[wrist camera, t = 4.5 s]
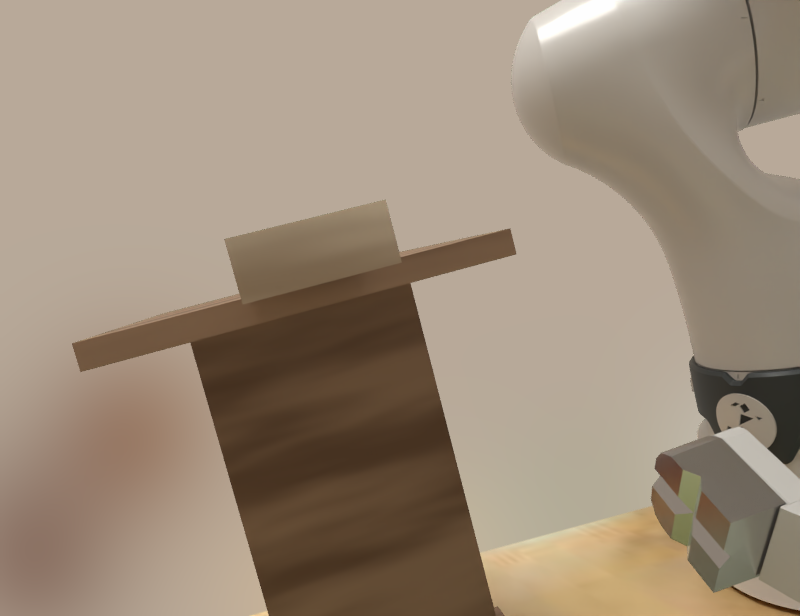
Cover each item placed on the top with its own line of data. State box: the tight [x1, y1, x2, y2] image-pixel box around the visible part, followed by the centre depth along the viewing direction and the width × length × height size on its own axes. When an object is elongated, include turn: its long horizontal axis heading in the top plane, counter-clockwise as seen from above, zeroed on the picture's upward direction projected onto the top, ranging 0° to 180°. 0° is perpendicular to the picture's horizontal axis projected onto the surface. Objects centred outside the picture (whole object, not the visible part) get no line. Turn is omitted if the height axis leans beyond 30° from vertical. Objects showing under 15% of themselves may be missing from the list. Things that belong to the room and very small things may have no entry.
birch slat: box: [225, 200, 402, 304], centre depth 31 cm, size 30×4×2 cm, turn 12°
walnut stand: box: [72, 229, 516, 616], centre depth 37 cm, size 22×16×26 cm
